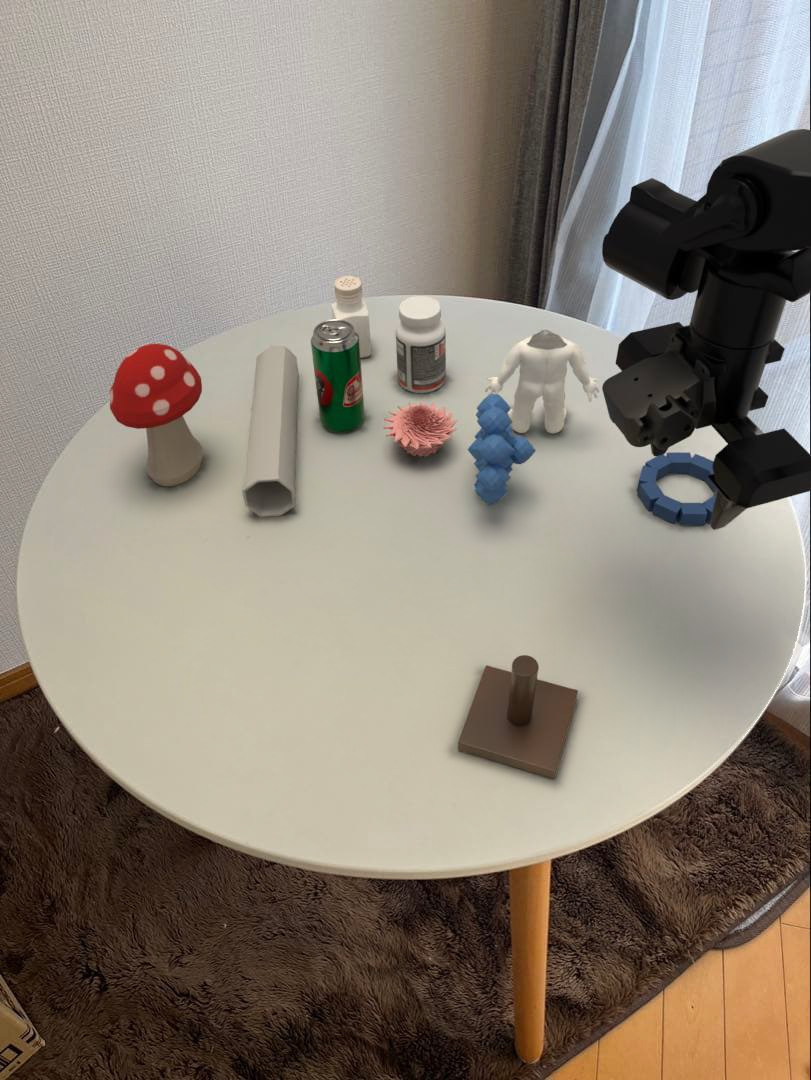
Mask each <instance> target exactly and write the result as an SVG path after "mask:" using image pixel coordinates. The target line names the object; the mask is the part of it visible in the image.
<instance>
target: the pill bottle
mask: <svg viewBox="0 0 811 1080" xmlns="http://www.w3.org/2000/svg"><path fill="white" fill-rule="evenodd" d="M441 307H442V306H441V303H440V302H439V301H438V300H436V298H433V297H431V296H426V295H416V296H411V297H408V298H406V299H404V300H403V301H402V302H400V304H399V307H398V318H399V321H398V323H397V324H396V326H395V348H396V370H397V371H396V372H397V380H398V383H399V384H400V386H401V387H402V388H403V389H405V390H407V391H410V392H412V393H416V394H425V393H432V392H433V391H435V390H438V389H439V388H440V387H442V385H444V383H445V381H446V378H447V377H446V376H447V375H446V374H447V367H446V365H447V363H446V361H447V357H446V355H447V352H446V351H447V350H446V349H447V348H446V347H447V345H446V343H447V340H446V339H447V338H446V337H447V336H446V334H447V333H446V326H445V323H444V321H442V319H441V318H442V308H441Z"/></svg>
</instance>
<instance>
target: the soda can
mask: <svg viewBox="0 0 811 1080" xmlns="http://www.w3.org/2000/svg"><path fill="white" fill-rule="evenodd" d="M310 347H311V354H312V363H313V373H314V380H315V388H316V396H317V404H318V412H319V421H320V423H321V424H322V426H323V427H325V428H326V429H327V430H329V431H331V432H334V433H349V432H352V431H354V430H356V429H357V428H359V427H360V426H361V424H363V423H364V421H365V417H366V415H365V400H364V386H363V373H362V360H361V359H362V358H360V346H359V336H358V334H357V333H356V332H355V329H354V326H353V325H352V324H351V323H349V322H347V321H345V320H339V319H333V318H332V319H327V320H324V321H322V322H319V323H318V324H317V325H315V327H314V329H313V330H312V336H311V338H310Z"/></svg>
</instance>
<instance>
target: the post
mask: <svg viewBox="0 0 811 1080" xmlns="http://www.w3.org/2000/svg"><path fill="white" fill-rule="evenodd" d="M539 667H540V665H539V663H538V661H537V659H535V657H533V656H531V655H528V654H523V655H518V656H516V657H515V658H514V659H513V660H512V662H511V671H509V670H505V669H501V668H498V667H494V666H490V665H485V667H484V669H483V672H482V675H481V678H480V680H479V683H478V686H477V688H476V691H475V694H474V697H473V699H472V703H471V705H470V708H469V710H468V714H467V716H466V719H465V722H464V725H463V727H462V730H461V733H460V736H459V738H458V741H457V750H458V751H460V752H463V753H467V754H470V755H474V756H477V757H480V758H483V759H486V760H489V761H493V762H497V763H500V764H503V765H506V766H510V767H513V768H516V769H519V770H523V771H526V772H529V773H533V774H536V775H539V776H542V777H546V778H550V779H552V780H555V779H556V776H557V772H558V769H559V764H560V761H561V757H562V753H563V750H564V746H565V743H566V740H567V739H566V738H567V735H568V731H569V729H570V724H571V721H572V717H573V713H574V709H575V705H576V702H577V698H578V693H579V690H578V689H574V688H571V687H567V686H563V685H559V684H556V683H552V682H549V681H545V680H542V679H538V674H539Z"/></svg>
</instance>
